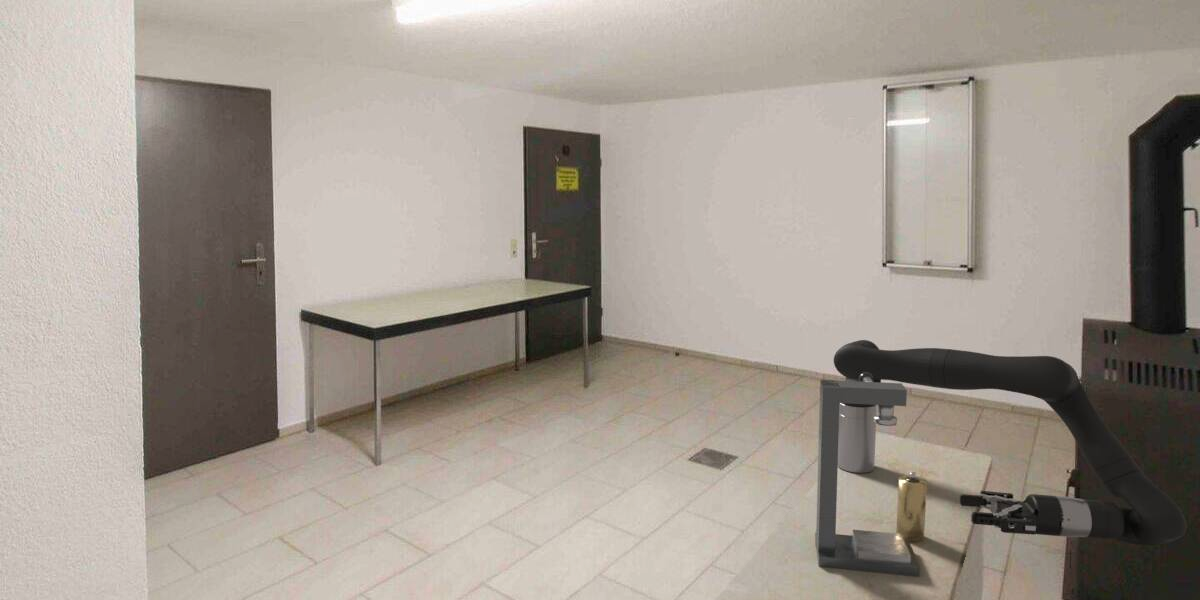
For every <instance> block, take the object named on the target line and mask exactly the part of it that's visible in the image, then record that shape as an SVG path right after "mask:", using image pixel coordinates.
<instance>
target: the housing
mask: <svg viewBox="0 0 1200 600" xmlns="http://www.w3.org/2000/svg"><path fill="white" fill-rule="evenodd" d="M909 473H910V474H909V475H900V476H899V477H898V484H897V486H898V487H897V507H896V508H897V509H896V511H897V512H896V529H895V530H896V531H895V533H897V534H902V536H903V539H904V540H906V541H909V542H910V544H912V543H913V544H917V543H922V542H924V541H925V531H926V530H925V527H926V511H927V510H926V507H927V486H928V482H927V480H926V479H925V478H922V477H919V476H916V475H917V473H916V472H915V471H910V472H909Z"/></svg>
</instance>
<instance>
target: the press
mask: <svg viewBox="0 0 1200 600" xmlns="http://www.w3.org/2000/svg"><path fill="white" fill-rule="evenodd" d="M873 381H874V378H873V376H872V374H870V373H868V372H864V373H862V374H860V376H859V382H855V381H845V380H838V379H820V384H819V413H818V414H819V416H818V417H819V419H818V449H817V450H818V455H817V487H816V488H817V490H816V493H817V494H816V524H815V525H816V529H815V531H816V532H815V533H814V535H815V537H814V543H815V550H816V554H817V555H816V556H817V562H818V563H817V564H818V567H822V568H833V569H841V570H850V571H859V572H861V571H862V572H872V573H880V574H890V575H891V574H892V575H900V576H902V575H903V576H910V577H920V574H921V573H920V572H921V571H920V570H921V566H920V564H919V561H918V559H917V556H916V554H915V552H914V549H913V547H912V545H911V544H912V543H911V542H909V541H906V540H904V539H903V536H902V534H897V533H896V532H895V533H894V532H887V531H886V532H885V531H884V532H883V531H872V530H861V529H852V534H851V535H850V534H837V533H836V530H837V529H836V528H837V501H838V500H837V499H838V492H837V491H838V468H839V467H838V436H839V404H840V403H849V404H870V405H877V412H876V415H875V416H874V423H876V425H879V426H885V427H893V426H896V425H898V417H896V416H895V407H896V406H897V407H907V399H908V398H907V395H908V394H907V393H908V390H907V389H906V387H905V386H904V384H903V382H900V383H899V382H881V383H879V382H873Z"/></svg>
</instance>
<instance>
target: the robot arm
mask: <svg viewBox="0 0 1200 600" xmlns="http://www.w3.org/2000/svg"><path fill="white" fill-rule="evenodd" d="M833 365H834V367H835V369H836V371H837V372H838V373H839V374H840V375H842V376H843V377H845V380H844V381H855V382H859V376H860V374H862V373H864V372H868V373H870V374H872V376H873V378H874V381H873V382H879V383H882V381H883V380H884V381H891V382H892V381H893V382H897V383H899V382H900V383H905V384H908V385H909V384H911V385H917V386H923V387H924V386H925V387H931V388H938V389H946V390H957V391H958V390H959V391H960V390H961V391H971V390H972V391H974V390H999V391H1000V390H1001V391H1005V392H1011V393H1018V394H1022V395H1026V396H1030V397H1034V398H1038V399H1040V400H1042V401H1044V402H1045V403H1046V404H1047V405H1048V406H1049V407H1050V408H1051V409H1052V410H1053V412H1055V413H1056V414H1057V415H1058V417H1059V418H1060V419H1061V421H1062V422H1064V424H1065V426H1066V427H1067V429H1068V430H1069V432H1070V433H1071V435H1072V436H1073V438H1074V441H1075V442H1076V444H1077V446H1078V448H1079V450H1080V452H1081V454H1082V455H1083V457H1084V459H1085V461H1086V462H1087V464H1088V465H1089V467H1090V468H1091V470H1092V471H1093V473H1094V475H1095V476H1096V477H1097V478H1098V479H1099V481H1100V482H1101V484H1102V485H1103V487H1104V488H1105V490H1106V491H1107V492H1108V493H1109V494H1110V495H1111V496H1112V497H1114V498H1117V499H1118V498H1119V499H1123V500H1124V501H1125V502H1126V503H1127V504H1128V505H1129V507H1121V506H1118V505H1117V504H1115V503H1113V502H1110V501H1105V500H1097V499H1095V500H1094V499H1086V498H1085V499H1083V498H1076V497H1071V496H1063V495H1050V494H1049V495H1046V494H1037V493H1030V494H1027V496H1026V497H1025V499H1024V500H1023V501H1020V500H1017V499H1014V494H1013V493H1011V492H1000V491H999V492H998V491H988V490H980V494H977V495H975V494H966V493H965V494H960V495H959V499H958V500H959V505H961V506H962V507H975V508H983V509H986V510H989V512H985V511H984V512H982V511H972V512H971V517H970V518H971V519H970V521H971V523H972V524H974V525H983V526H993V527H994V528H996V529H1000V532H1001V533H1006V534H1016V535H1017V534H1020V535H1039V536H1040V535H1042V536H1052V537H1053V536H1055V537H1065V538H1092V539H1093V538H1094V539H1102V540H1108V539H1109V540H1115V541H1119V542H1124V543H1127V544H1132V545H1138V546H1146V547H1148V546H1149V547H1151V546H1152V547H1153V546H1154V547H1156V546H1162V545H1165V544H1168V543H1171V542H1173V541H1176V540H1178V539H1181V537H1183V536H1184V535H1185V534H1186V531H1187V526H1188V525H1187V521H1186V518H1185V515H1184V514H1183V513H1182V510H1181V509H1180V508H1179V507H1178V505H1177V504H1176V503H1175V502H1174V500H1173V499H1171V498H1170V497H1169V496H1168V495H1167V494H1166V493H1164V492H1163V491H1162V490H1161V489H1160V487H1158V485H1156V484H1154V483H1153V481H1151V480H1150V479H1148V477H1147V476H1146V475H1145V474H1144V472H1143V470H1142V469H1141V467H1139V465H1138V464H1137V463H1136V461H1135V460H1134V459H1133V456H1131V455H1130V453H1129V452H1128V451H1127V450H1126V448H1125V446H1124V445H1123V444H1122V443H1121V442H1120V440H1119V439H1118V437H1116V436H1115V434H1114V432H1112V430H1111V429H1110V428H1109V427H1108V426H1107V424H1106V423H1105V422H1104V420H1103V419H1102V417H1101V416H1100V414H1099V413H1098V411H1097V409H1096V408H1095V407H1094V405H1093V403H1092V402H1091V400H1090V398H1089V396H1088V394H1087V393H1086V391H1085V389H1084V386H1083V384H1082V382H1081V381H1080V378H1079V376H1078V373H1077V371H1076V370H1075V369H1074V368H1073V366H1072V365H1070V364H1069V363H1067V362H1066V361H1064V360H1063V359H1060V358H1058V357H1056V356H1049V355H1033V356H1032V355H1031V356H1028V355H1027V356H1023V355H1022V356H1011V355H1010V356H1008V355H1007V356H1003V355H1002V356H1001V355H993V354H986V353H982V352H981V353H980V352H975V351H969V350H968V351H967V350H961V349H954V348H953V349H950V348H941V347H937V348H936V347H929V348H928V347H924V348H923V347H919V348H909V349H908V348H906V349H899V350H898V349H897V350H895V349H893V350H888V349H887V350H886V349H880V348H879V346H877V344H875V343H874V342H872V341H870V340H868V339H859V340H856V341H852V342H849V343H845V344H844V345H842V346H841V347H840V348H839V349H837V350H836V352H835V354H834V356H833ZM877 412H878V405H870V404H849V403H840V404H839V436H838V468H839V469H840V470H843V471H847V472H850V473H856V474H857V473H860V474H864V473H870V472H874V470H875V463H876V462H875V461H876V459H875V458H876V435H877V434H876V433H877V424H876V423H874V416H875V415H877Z"/></svg>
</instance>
